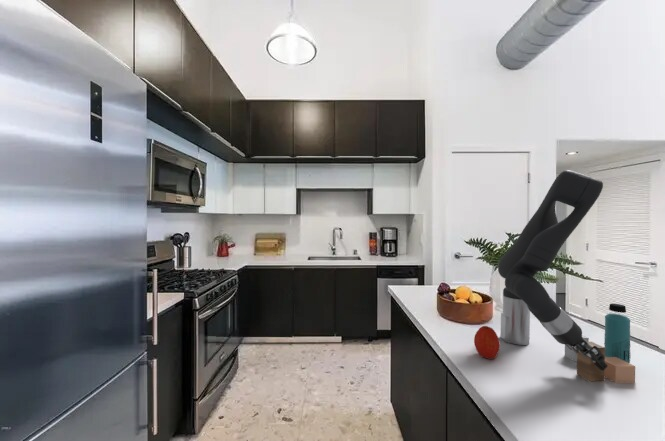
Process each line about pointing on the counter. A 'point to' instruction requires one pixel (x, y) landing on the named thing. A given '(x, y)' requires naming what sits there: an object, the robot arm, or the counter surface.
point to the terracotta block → (619, 370)
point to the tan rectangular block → (590, 366)
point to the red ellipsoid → (487, 342)
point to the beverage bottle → (617, 334)
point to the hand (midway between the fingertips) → (596, 363)
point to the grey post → (571, 353)
